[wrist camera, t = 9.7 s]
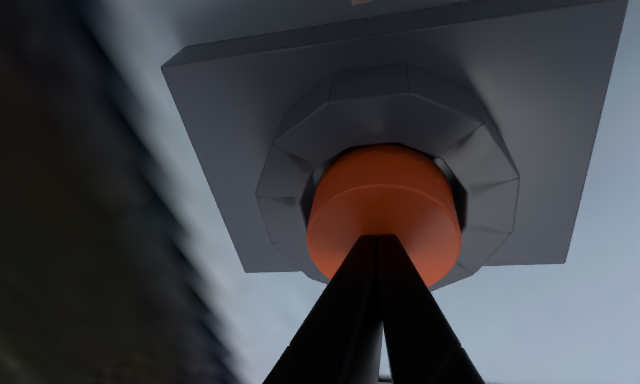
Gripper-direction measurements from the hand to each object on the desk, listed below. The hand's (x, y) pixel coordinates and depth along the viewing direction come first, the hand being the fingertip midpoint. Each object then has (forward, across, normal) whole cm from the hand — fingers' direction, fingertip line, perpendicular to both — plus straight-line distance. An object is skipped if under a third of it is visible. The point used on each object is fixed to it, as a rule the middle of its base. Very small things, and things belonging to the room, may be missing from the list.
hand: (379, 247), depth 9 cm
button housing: (+5, 0, 0) cm, 5 cm away
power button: (+2, 0, 0) cm, 2 cm away
